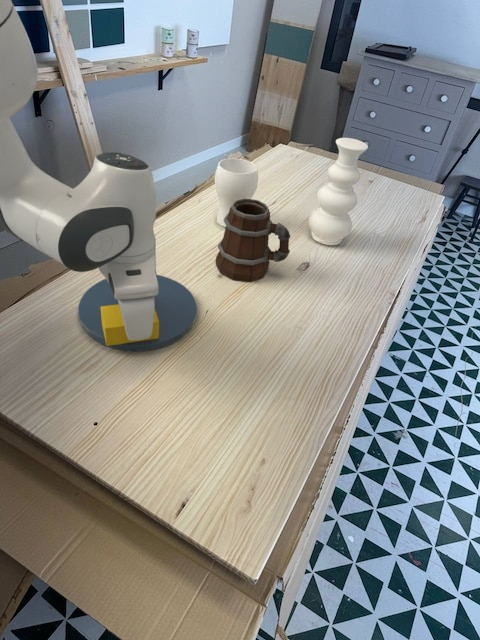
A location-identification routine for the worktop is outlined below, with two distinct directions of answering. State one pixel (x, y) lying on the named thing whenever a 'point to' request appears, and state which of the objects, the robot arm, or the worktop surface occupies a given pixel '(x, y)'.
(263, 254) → the mug
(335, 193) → the vase
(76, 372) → the worktop surface
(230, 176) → the cup
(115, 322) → the yellow block
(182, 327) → the plate
